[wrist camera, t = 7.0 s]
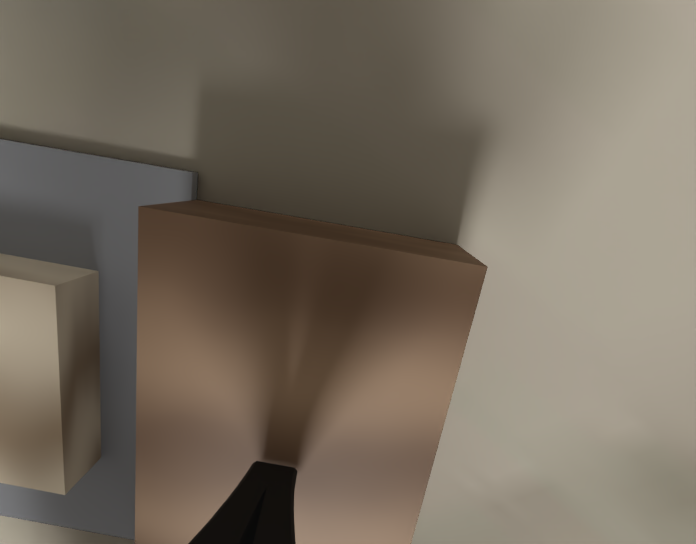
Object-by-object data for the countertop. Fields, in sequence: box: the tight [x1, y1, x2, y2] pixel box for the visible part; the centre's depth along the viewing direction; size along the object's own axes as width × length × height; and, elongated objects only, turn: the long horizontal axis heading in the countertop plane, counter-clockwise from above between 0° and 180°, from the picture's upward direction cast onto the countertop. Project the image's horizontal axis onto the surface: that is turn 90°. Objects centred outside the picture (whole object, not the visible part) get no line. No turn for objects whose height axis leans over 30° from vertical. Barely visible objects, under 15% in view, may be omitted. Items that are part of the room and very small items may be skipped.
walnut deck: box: [135, 200, 487, 544], centre depth 14 cm, size 16×10×4 cm, turn 171°
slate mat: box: [0, 139, 198, 540], centre depth 15 cm, size 18×12×1 cm, turn 171°
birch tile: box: [0, 253, 101, 495], centre depth 14 cm, size 9×6×2 cm, turn 170°
